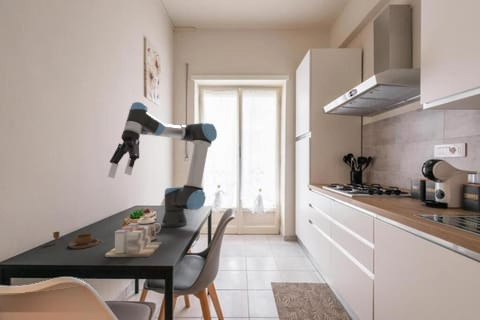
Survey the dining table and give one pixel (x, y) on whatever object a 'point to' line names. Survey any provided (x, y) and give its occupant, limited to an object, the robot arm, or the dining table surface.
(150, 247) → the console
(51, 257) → the dining table surface
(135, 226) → the key
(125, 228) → the key terracotta
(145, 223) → the teacup with lid
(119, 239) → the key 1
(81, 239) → the place setting
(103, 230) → the dining table surface
